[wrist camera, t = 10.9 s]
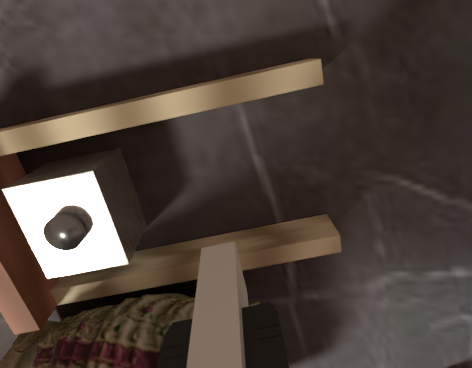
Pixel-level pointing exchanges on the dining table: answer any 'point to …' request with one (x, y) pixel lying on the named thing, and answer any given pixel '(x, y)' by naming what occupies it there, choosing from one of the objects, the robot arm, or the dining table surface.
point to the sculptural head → (104, 335)
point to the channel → (159, 258)
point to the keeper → (79, 213)
